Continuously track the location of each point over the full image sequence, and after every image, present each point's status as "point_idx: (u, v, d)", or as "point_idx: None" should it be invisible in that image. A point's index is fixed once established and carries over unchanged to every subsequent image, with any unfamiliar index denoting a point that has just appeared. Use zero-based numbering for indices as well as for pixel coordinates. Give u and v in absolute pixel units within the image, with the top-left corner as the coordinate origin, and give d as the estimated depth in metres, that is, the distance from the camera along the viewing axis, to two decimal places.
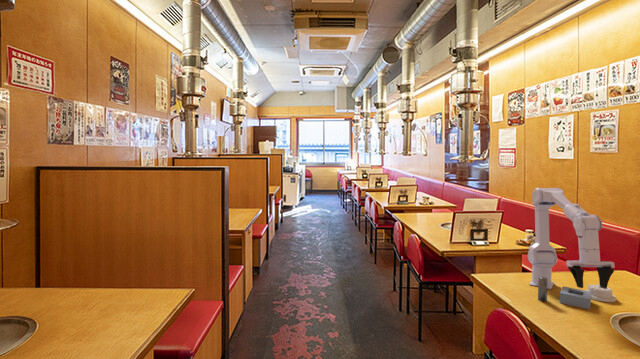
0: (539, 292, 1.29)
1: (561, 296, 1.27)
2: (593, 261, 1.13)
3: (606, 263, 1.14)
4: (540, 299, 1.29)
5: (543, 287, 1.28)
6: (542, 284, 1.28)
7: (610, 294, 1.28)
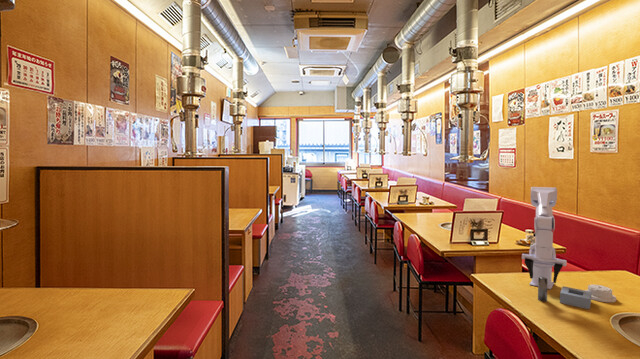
0: (539, 292, 1.29)
1: (561, 296, 1.27)
2: (540, 257, 1.27)
3: (555, 261, 1.25)
4: (540, 299, 1.29)
5: (543, 287, 1.28)
6: (542, 284, 1.28)
7: (610, 294, 1.28)
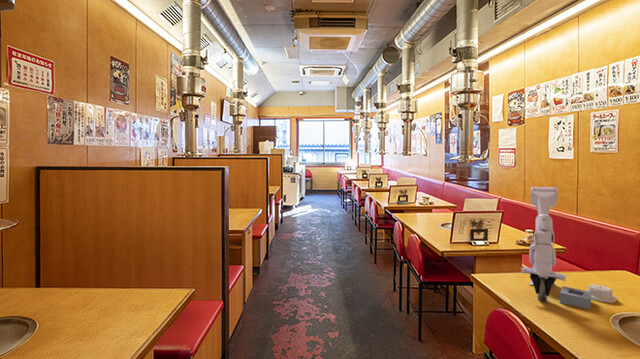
0: (539, 292, 1.29)
1: (561, 296, 1.27)
2: (540, 272, 1.28)
3: (555, 275, 1.25)
4: (540, 299, 1.29)
5: (543, 287, 1.28)
6: (542, 284, 1.28)
7: (611, 295, 1.28)
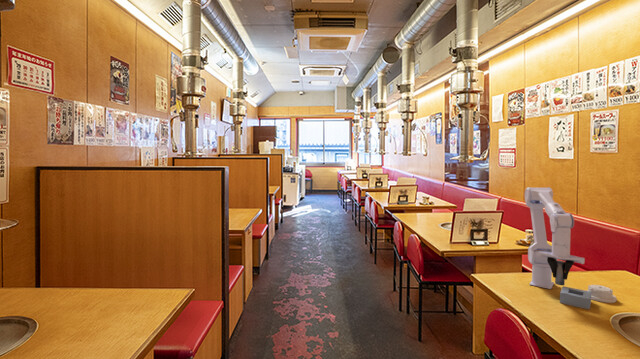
0: (556, 276, 1.28)
1: (561, 296, 1.27)
2: (557, 255, 1.26)
3: (573, 258, 1.24)
4: (557, 283, 1.27)
5: (560, 270, 1.27)
6: (559, 267, 1.27)
7: (611, 295, 1.28)
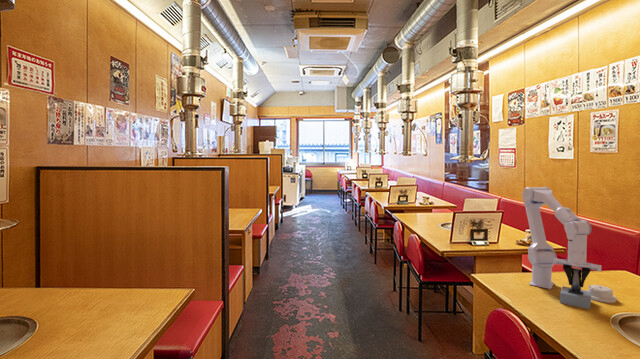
0: (572, 283, 1.27)
1: (561, 296, 1.27)
2: (574, 262, 1.25)
3: (590, 266, 1.23)
4: (573, 290, 1.26)
5: (577, 278, 1.25)
6: (576, 275, 1.26)
7: (611, 295, 1.28)
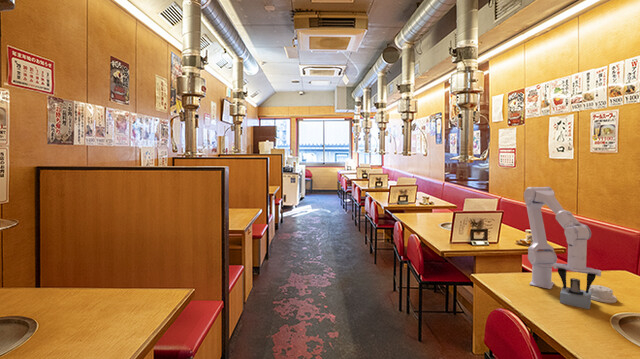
0: None
1: (561, 296, 1.27)
2: (573, 267, 1.25)
3: (590, 271, 1.23)
4: None
5: (576, 289, 1.26)
6: (575, 286, 1.26)
7: (611, 295, 1.28)
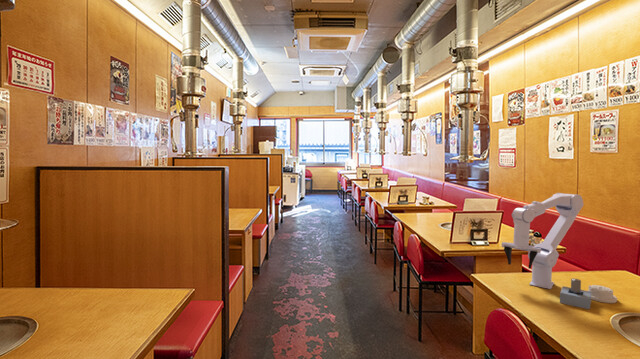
0: None
1: (561, 296, 1.27)
2: (518, 245, 1.40)
3: (531, 248, 1.38)
4: None
5: (576, 289, 1.26)
6: (575, 286, 1.26)
7: (611, 295, 1.28)
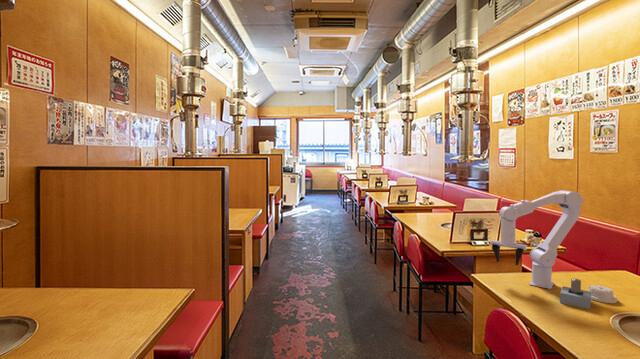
0: None
1: (561, 296, 1.27)
2: (504, 243, 1.45)
3: (517, 246, 1.43)
4: None
5: (576, 289, 1.26)
6: (575, 286, 1.26)
7: (611, 295, 1.28)
